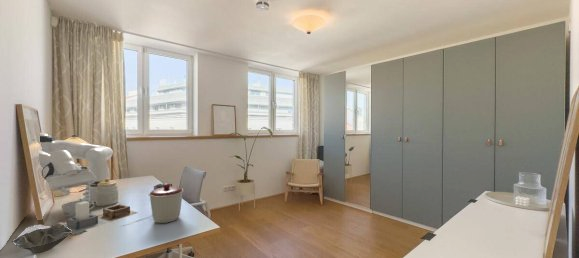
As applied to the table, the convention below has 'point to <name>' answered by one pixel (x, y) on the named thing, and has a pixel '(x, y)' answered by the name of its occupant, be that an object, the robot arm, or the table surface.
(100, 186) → the jar
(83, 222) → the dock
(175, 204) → the canister
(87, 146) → the robot arm
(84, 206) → the plug
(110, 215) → the brown open box
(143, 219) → the table surface
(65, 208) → the teacup
